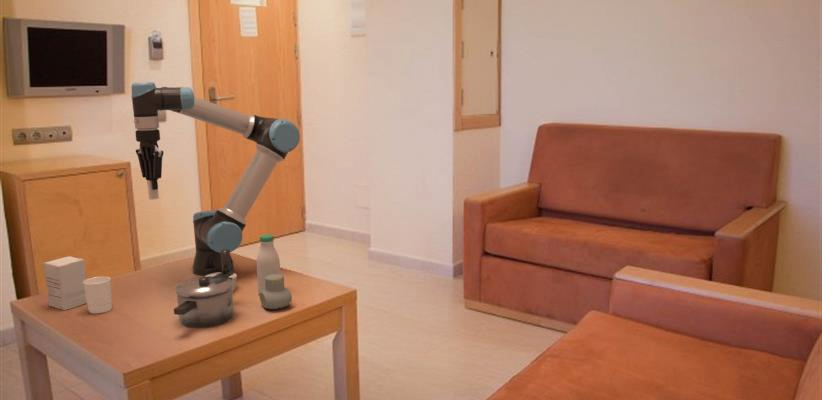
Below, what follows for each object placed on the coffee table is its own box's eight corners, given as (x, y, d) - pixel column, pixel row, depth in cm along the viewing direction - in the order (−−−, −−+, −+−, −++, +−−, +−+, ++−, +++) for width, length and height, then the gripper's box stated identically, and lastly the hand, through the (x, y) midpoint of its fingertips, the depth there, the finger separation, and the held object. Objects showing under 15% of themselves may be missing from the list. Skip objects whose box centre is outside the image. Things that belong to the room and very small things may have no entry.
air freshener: (294, 309, 207) (292, 278, 205) (268, 314, 203) (266, 283, 201) (283, 299, 217) (281, 270, 215) (258, 303, 213) (256, 274, 211)
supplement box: (74, 298, 222) (69, 255, 219) (90, 302, 217) (85, 258, 214) (48, 306, 214) (42, 262, 211) (64, 311, 210) (58, 266, 207)
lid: (214, 299, 189) (212, 271, 188) (164, 296, 193) (161, 268, 192) (253, 275, 212) (251, 249, 210) (207, 272, 216) (205, 247, 214)
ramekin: (236, 284, 233) (235, 270, 232) (239, 293, 223) (238, 278, 222) (203, 288, 230) (202, 273, 229) (205, 298, 219) (203, 283, 218)
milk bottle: (283, 294, 221) (280, 237, 217) (260, 297, 218) (256, 239, 215) (279, 287, 228) (275, 232, 224) (256, 290, 225) (253, 234, 222)
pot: (206, 338, 185) (204, 308, 183) (155, 335, 188) (152, 305, 187) (252, 302, 213) (250, 276, 212) (207, 300, 217) (205, 274, 215)
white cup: (103, 315, 205) (99, 284, 203) (81, 313, 207) (77, 283, 205) (119, 306, 213) (115, 276, 211) (97, 305, 214) (94, 275, 212)
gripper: (126, 129, 219) (133, 198, 223) (148, 130, 211) (154, 202, 215) (146, 127, 225) (153, 195, 229) (168, 129, 217) (174, 198, 221)
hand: (153, 198), depth 222 cm, fingers closed
